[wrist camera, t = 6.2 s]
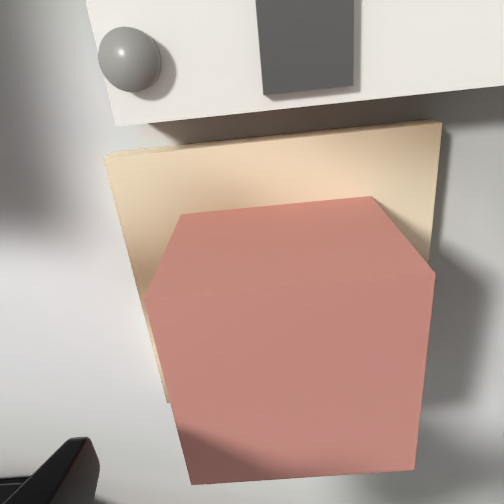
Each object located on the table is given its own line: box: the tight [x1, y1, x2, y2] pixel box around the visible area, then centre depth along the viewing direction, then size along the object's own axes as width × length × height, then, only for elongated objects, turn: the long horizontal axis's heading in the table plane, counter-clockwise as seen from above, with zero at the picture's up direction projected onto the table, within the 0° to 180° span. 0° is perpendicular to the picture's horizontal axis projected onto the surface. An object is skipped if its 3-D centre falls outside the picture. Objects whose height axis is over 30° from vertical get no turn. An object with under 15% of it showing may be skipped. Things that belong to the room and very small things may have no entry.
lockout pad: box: [103, 119, 442, 403], centre depth 15 cm, size 10×10×1 cm
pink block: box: [144, 196, 436, 485], centre depth 12 cm, size 6×6×5 cm
